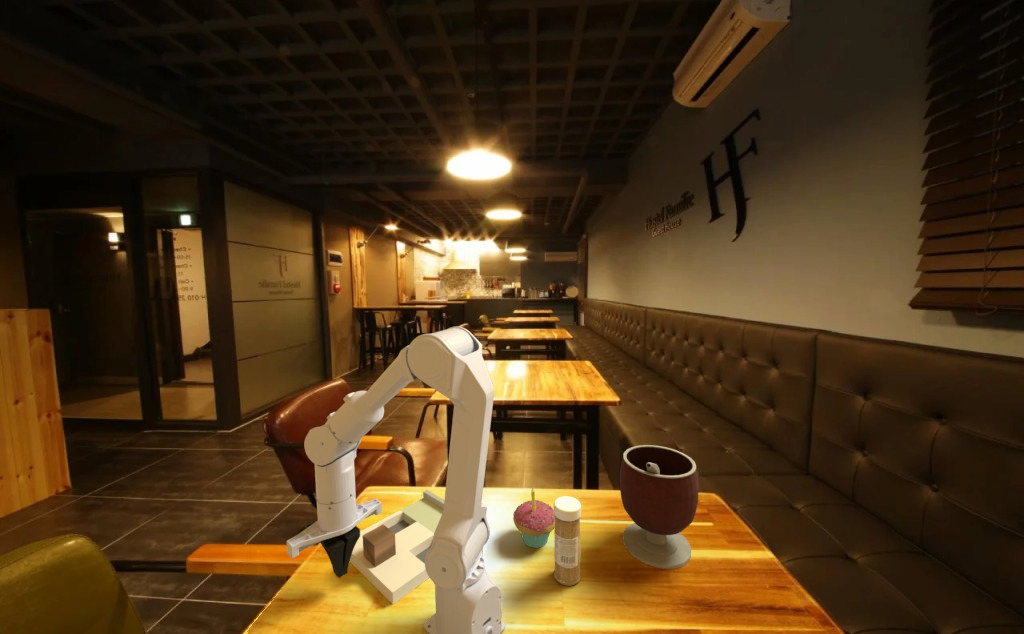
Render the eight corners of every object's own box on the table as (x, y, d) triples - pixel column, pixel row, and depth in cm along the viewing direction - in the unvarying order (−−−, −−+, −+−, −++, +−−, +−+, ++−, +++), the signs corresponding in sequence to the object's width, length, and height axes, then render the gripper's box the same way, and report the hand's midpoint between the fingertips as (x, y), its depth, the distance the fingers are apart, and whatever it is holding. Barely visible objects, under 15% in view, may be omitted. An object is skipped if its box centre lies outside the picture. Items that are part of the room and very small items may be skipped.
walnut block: (395, 554, 68) (395, 533, 67) (375, 567, 64) (374, 545, 64) (383, 544, 70) (383, 524, 70) (363, 556, 67) (362, 535, 67)
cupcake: (554, 557, 69) (554, 495, 68) (509, 551, 71) (508, 491, 70) (557, 528, 78) (558, 472, 76) (517, 523, 79) (517, 468, 78)
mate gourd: (629, 514, 82) (631, 425, 80) (700, 537, 74) (704, 439, 73) (606, 558, 69) (608, 453, 67) (689, 591, 61) (693, 474, 60)
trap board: (482, 538, 74) (482, 521, 74) (393, 604, 59) (392, 583, 59) (427, 504, 86) (426, 489, 86) (340, 552, 71) (339, 534, 71)
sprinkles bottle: (582, 571, 66) (583, 498, 65) (576, 590, 62) (577, 513, 60) (557, 563, 68) (558, 492, 66) (550, 582, 64) (550, 506, 62)
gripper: (366, 469, 69) (369, 539, 70) (277, 505, 58) (282, 587, 59) (387, 482, 64) (389, 556, 65) (294, 524, 53) (300, 612, 54)
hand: (340, 572), depth 62 cm, fingers closed
